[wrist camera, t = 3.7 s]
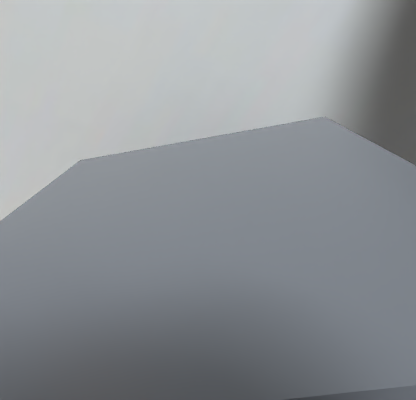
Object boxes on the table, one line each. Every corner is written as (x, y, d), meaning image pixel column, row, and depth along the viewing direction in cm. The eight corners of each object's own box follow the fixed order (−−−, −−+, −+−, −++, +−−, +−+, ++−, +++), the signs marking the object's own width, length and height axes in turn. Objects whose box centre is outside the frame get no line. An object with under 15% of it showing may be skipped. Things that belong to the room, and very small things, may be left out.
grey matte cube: (325, 116, 10) (757, 348, 2) (335, 317, 13) (532, 742, 5) (80, 160, 11) (-320, 464, 3) (141, 342, 14) (35, 751, 6)
